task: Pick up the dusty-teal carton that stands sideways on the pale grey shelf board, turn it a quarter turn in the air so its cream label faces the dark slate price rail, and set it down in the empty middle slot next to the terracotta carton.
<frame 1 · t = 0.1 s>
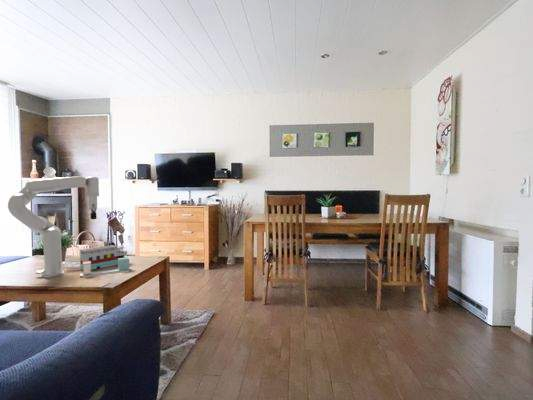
hand: (93, 218, 215), 37 cm above the table, tool pointing down, fingers open, 9 cm apart
teal carton: (123, 269, 212), point 1 cm above the table, touching shelf board
shelf board: (105, 273, 206), on the table
toy vehicle: (105, 267, 224), on the table
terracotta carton: (87, 274, 200), point 1 cm above the table, touching shelf board
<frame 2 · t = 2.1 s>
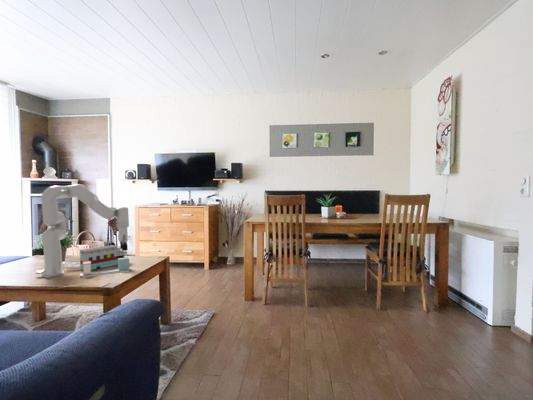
hand: (124, 249, 212), 15 cm above the table, tool pointing down, fingers open, 9 cm apart
nothing on the table moved.
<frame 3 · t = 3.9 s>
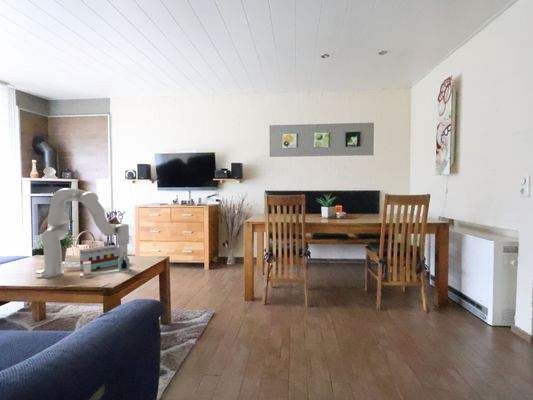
hand: (123, 267, 212), 3 cm above the table, tool pointing down, fingers closed on teal carton, 4 cm apart
teal carton: (123, 269, 212), point 1 cm above the table, touching gripper, shelf board
everything else where it was.
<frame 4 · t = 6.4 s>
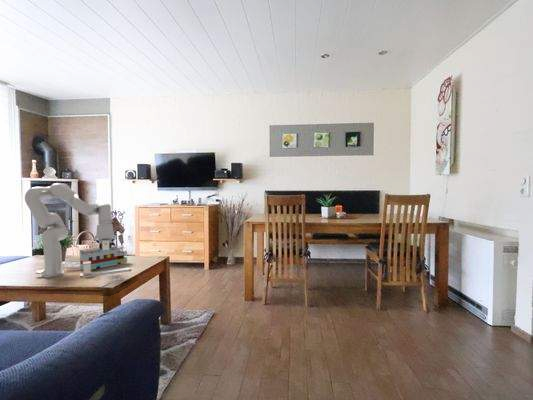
hand: (105, 248, 206), 17 cm above the table, tool pointing down, fingers closed on teal carton, 4 cm apart
teal carton: (105, 251, 206), point 15 cm above the table, touching gripper
everything else where it was.
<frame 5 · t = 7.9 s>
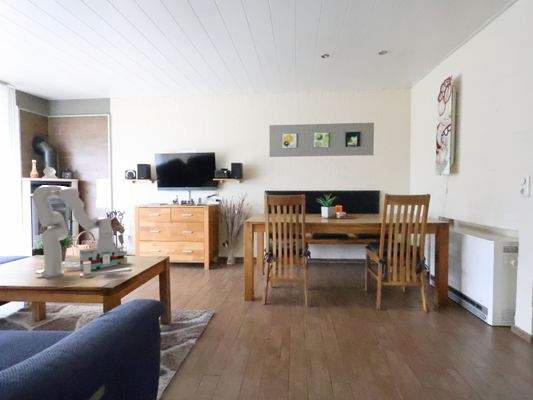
hand: (106, 262, 206), 8 cm above the table, tool pointing down, fingers closed on teal carton, 4 cm apart
teal carton: (106, 264, 206), point 6 cm above the table, touching gripper
everything else where it was.
when the fingers open (4 cm above the table, at t = 9.0 s): teal carton drops 2 cm, resting on shelf board.
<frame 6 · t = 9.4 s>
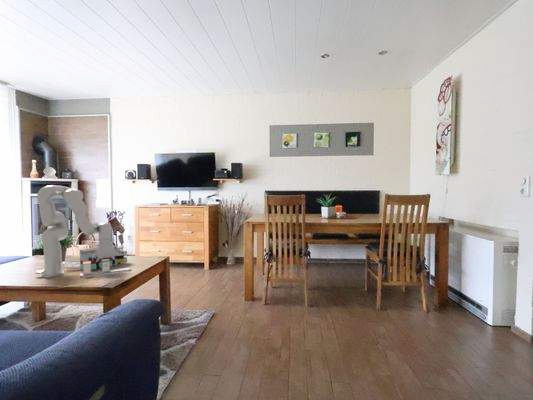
hand: (105, 266, 206), 5 cm above the table, tool pointing down, fingers open, 8 cm apart
teal carton: (105, 272, 206), point 1 cm above the table, touching shelf board
everything else where it was.
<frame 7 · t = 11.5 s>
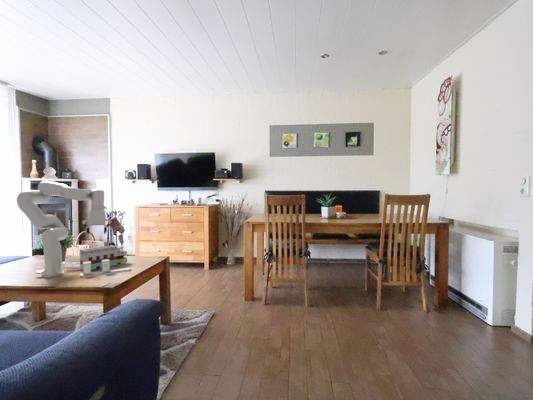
hand: (96, 233, 204), 27 cm above the table, tool pointing down, fingers open, 9 cm apart
nothing on the table moved.
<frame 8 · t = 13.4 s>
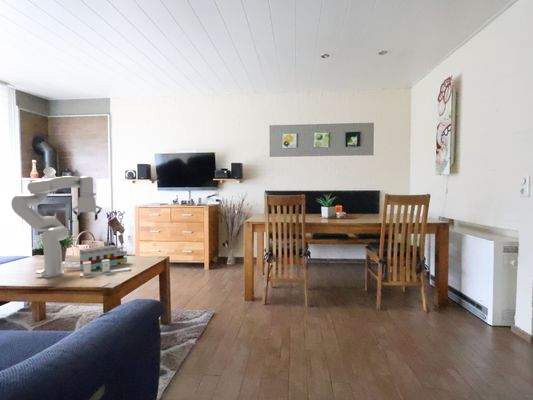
hand: (87, 220, 203), 36 cm above the table, tool pointing down, fingers open, 9 cm apart
nothing on the table moved.
at the end: teal carton inside the target area (0.0 cm from its centre), point 1.0 cm above the table; teal carton tilted 0°; the gripper is holding nothing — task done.
